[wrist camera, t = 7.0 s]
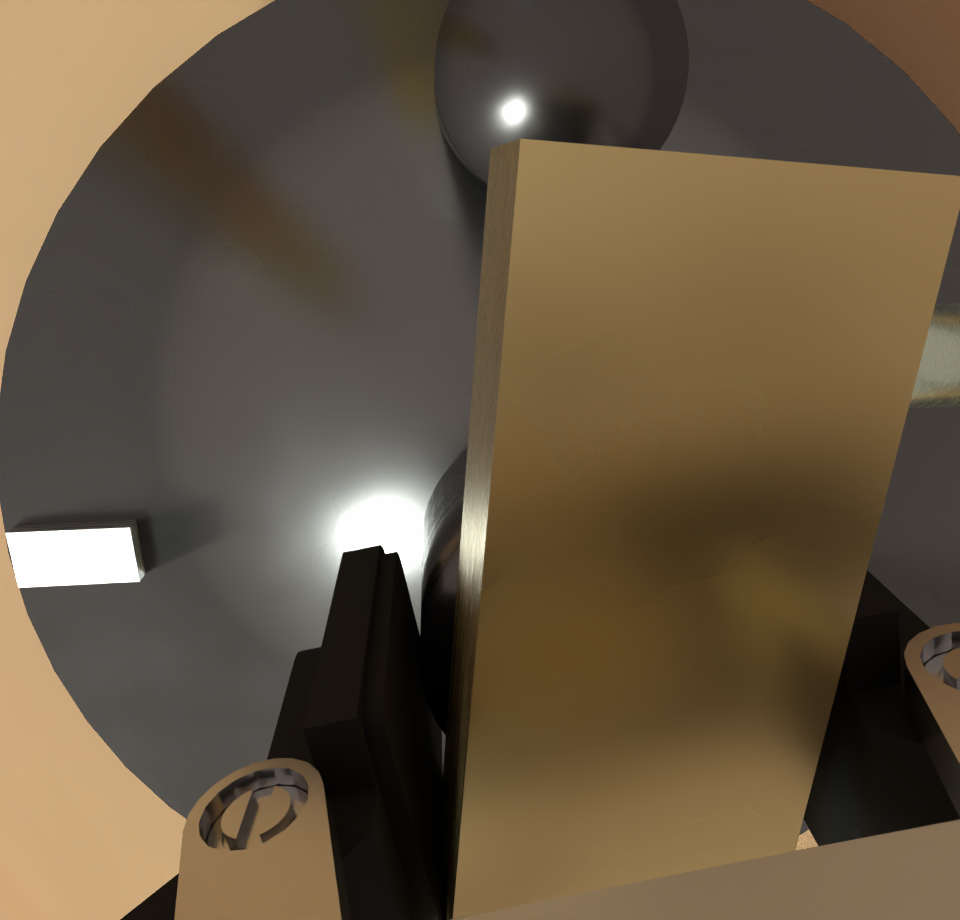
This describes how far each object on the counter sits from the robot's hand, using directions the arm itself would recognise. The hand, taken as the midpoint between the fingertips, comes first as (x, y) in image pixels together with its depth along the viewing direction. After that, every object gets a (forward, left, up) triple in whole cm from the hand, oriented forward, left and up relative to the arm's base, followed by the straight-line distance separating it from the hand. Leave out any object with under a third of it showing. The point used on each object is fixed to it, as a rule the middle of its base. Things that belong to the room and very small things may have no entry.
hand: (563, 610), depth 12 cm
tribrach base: (0, 0, -5) cm, 5 cm away
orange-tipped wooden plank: (0, 0, -3) cm, 3 cm away
